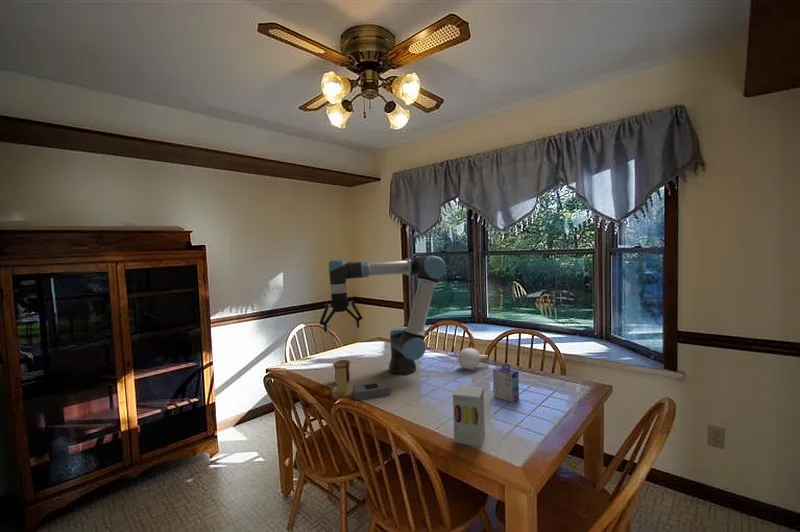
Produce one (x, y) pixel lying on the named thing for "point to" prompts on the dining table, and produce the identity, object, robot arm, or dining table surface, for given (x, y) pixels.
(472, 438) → the supplement box
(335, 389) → the pad
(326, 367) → the dining table surface
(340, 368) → the plug
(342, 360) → the mug
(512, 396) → the ink cartridge box
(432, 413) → the dining table surface
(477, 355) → the piggy bank
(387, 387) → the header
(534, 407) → the dining table surface
